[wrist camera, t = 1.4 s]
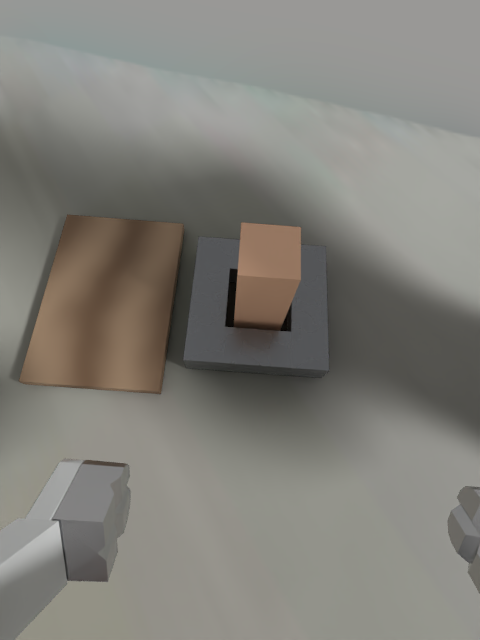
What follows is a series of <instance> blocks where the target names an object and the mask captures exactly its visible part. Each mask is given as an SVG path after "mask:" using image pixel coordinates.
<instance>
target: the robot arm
mask: <svg viewBox="0 0 480 640" xmlns="http://www.w3.org/2000/svg"><path fill="white" fill-rule="evenodd" d="M129 477H130V470H129V465H128V464H125V463H114V462H103V461H92V460H77V459H66V458H64V459H63V460H62V461H61V462H60V463H58V465H57V467H56V468H55V470H54V472H53V473H52V475H51V476H50V478H49V480H48V481H47V483H46V485H45V486H44V488H43V490H42V491H41V493H40V494H39V496H38V498H37V499H36V501H35V503H34V504H33V506H32V507H31V509H30V511H29V512H28V514H27V516H26V517H25V519H23V518H17V519H16V520H14V521H13V522H12V523H10V524H9V525H7V526H6V527H4V528H3V529H1V530H0V640H15V639H16V638H17V637H18V635H19V634H20V633H21V632H22V631H23V630H24V629H25V628H26V627H27V626H28V625H29V624H30V623H31V622H32V621H33V620H34V619H35V617H36V616H37V615H38V614H39V613H40V612H41V611H42V610H43V609H44V608H45V607H46V606H47V605H48V604H49V603H50V602H51V601H52V599H53V598H54V597H55V596H56V595H57V594H58V593H59V592H60V591H61V590H62V589H63V588H64V587H65V586H66V585H67V581H95V582H108V580H109V577H110V574H111V571H112V568H113V565H114V562H115V558H116V555H117V552H118V547H117V538H118V537H120V536H121V535H122V534H123V533H124V530H125V527H126V523H127V520H128V514H129V509H130V500H131V491H130V489H129V488H128V487H127V483H128V480H129ZM457 499H458V501H459V503H460V505H459V506H457V507H456V508H454V509H453V510H452V511H451V513H450V516H449V518H448V533H449V537H450V540H451V543H452V545H453V546H454V548H455V550H456V552H457V554H459V555H460V556H461V557H462V558H463V559H465V560H466V561H467V562H468V563H469V566H468V574H469V575H470V577H471V579H472V581H473V582H474V584H475V586H476V588H477V590H478V591H479V593H480V487H472V486H465V487H464V488H462V489H461V490H460V492H459V494H458V496H457Z"/></svg>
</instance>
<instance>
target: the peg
mask: <svg viewBox="0 0 480 640" xmlns="http://www.w3.org/2000/svg"><path fill="white" fill-rule="evenodd" d="M300 281H301V227H293V226H281V225H268V224H255V223H243V222H241V234H240V247H239V260H238V274H237V287H236V301H235V314H234V328H248V329H261V330H274V331H280V329H281V327H282V324H283V322H284V319H285V317H286V315H287V312H288V310H289V307H290V305H291V302H292V300H293V298H294V295H295V293H296V290H297V288H298V286H299V283H300Z"/></svg>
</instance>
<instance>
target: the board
mask: <svg viewBox="0 0 480 640" xmlns="http://www.w3.org/2000/svg"><path fill="white" fill-rule="evenodd" d="M183 236H184V225H183V224H180V223H167V222H154V221H141V220H129V219H116V218H103V217H91V216H78V215H67V217H66V221H65V224H64V227H63V231H62V234H61V238H60V241H59V245H58V248H57V251H56V255H55V258H54V262H53V265H52V269H51V272H50V276H49V279H48V282H47V286H46V289H45V293H44V296H43V300H42V303H41V306H40V310H39V313H38V317H37V320H36V324H35V327H34V331H33V334H32V337H31V341H30V344H29V348H28V351H27V355H26V358H25V361H24V365H23V368H22V372H21V375H20V379H19V382H21V383H23V384H29V385H43V386H57V387H71V388H85V389H99V390H113V391H127V392H141V393H155V394H161V389H162V382H163V375H164V368H165V362H166V355H167V348H168V341H169V334H170V327H171V320H172V313H173V306H174V299H175V292H176V285H177V278H178V271H179V264H180V257H181V250H182V243H183Z"/></svg>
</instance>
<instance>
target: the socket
mask: <svg viewBox="0 0 480 640" xmlns="http://www.w3.org/2000/svg"><path fill="white" fill-rule="evenodd" d="M239 247H240V240H238V239H225V238H212V237H199V238H198V246H197V254H196V262H195V270H194V278H193V286H192V294H191V302H190V310H189V318H188V326H187V334H186V342H185V350H184V358H183V361H184V363H185V366H186V368H192V369H206V370H220V371H234V372H247V373H261V374H275V375H289V376H302V377H316V378H322V377H323V376H324V375H325V374H326V373H327V372H328V371H329V346H328V309H327V273H326V246H314V245H302V244H301V281H300V283H299V286H298V288H297V290H296V293H295V295H294V298H293V300H292V302H291V305H290V307H289V310H288V312H287V331H274V330H261V329H248V328H234V327H226V316H227V304H228V292H229V282H236V283H237V274H238V260H239Z"/></svg>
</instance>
